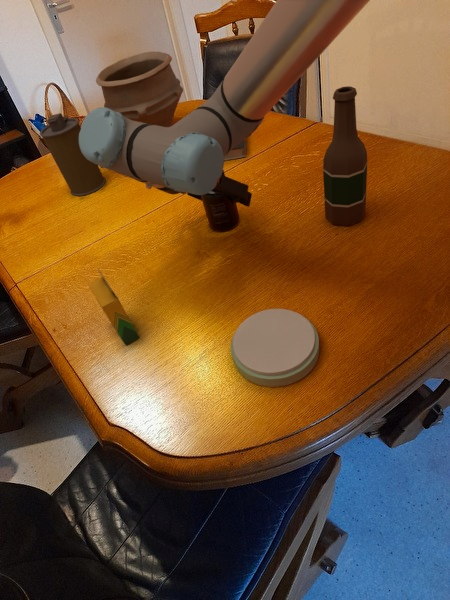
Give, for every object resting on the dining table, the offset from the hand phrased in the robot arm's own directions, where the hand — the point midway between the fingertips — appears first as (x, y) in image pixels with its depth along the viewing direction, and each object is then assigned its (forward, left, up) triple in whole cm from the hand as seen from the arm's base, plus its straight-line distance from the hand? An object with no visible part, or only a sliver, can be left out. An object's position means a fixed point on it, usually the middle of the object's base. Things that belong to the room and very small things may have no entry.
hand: (226, 197), depth 87 cm
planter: (+40, -43, -5) cm, 59 cm away
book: (+15, -35, -5) cm, 38 cm away
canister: (+49, -14, -5) cm, 51 cm away
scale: (-18, +35, -4) cm, 40 cm away
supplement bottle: (+1, +3, -5) cm, 6 cm away
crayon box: (+9, +35, -5) cm, 36 cm away
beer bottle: (-24, 0, -5) cm, 25 cm away
